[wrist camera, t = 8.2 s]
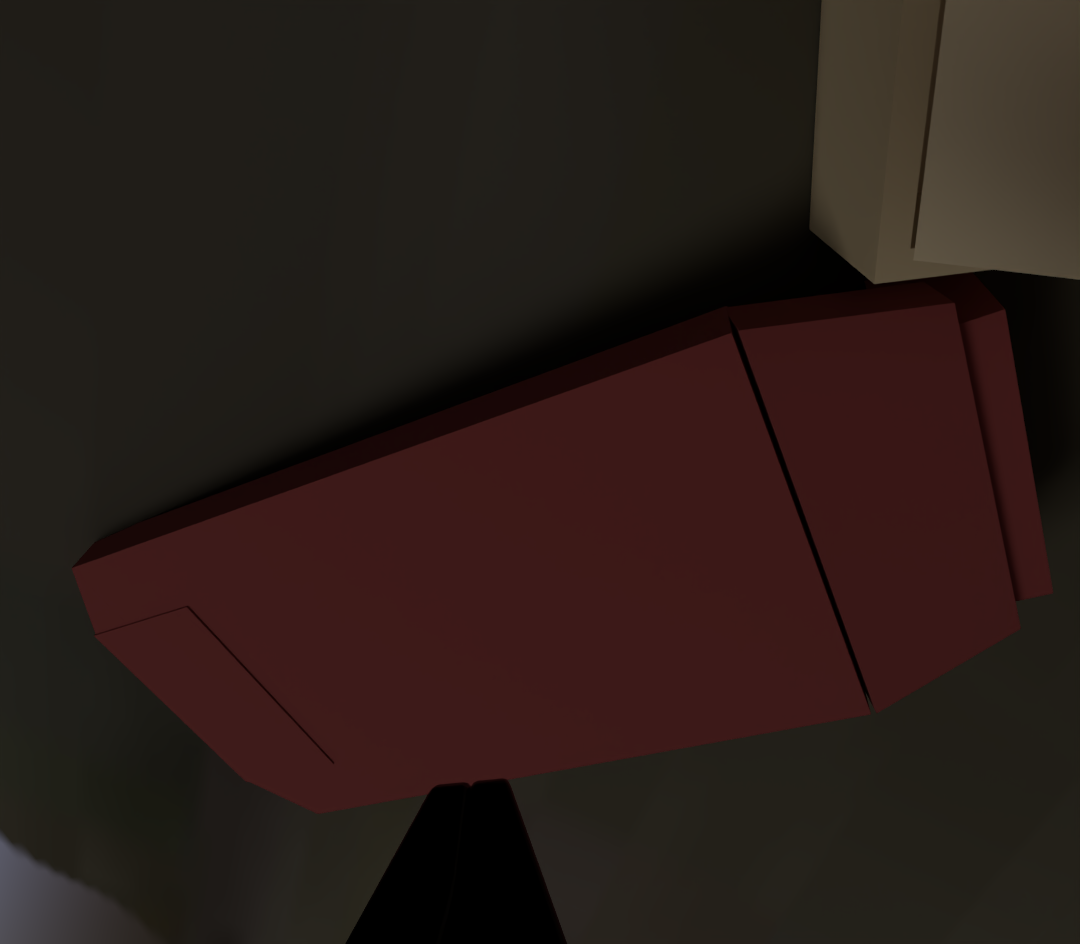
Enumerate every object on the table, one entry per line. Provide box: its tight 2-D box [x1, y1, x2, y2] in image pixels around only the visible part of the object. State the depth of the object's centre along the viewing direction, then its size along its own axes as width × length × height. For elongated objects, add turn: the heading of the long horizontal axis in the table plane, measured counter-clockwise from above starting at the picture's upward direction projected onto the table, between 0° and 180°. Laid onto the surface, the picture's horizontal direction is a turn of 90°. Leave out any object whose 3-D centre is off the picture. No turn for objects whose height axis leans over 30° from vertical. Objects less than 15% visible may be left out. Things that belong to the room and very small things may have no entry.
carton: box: [72, 272, 1053, 814], centre depth 23 cm, size 12×5×25 cm
